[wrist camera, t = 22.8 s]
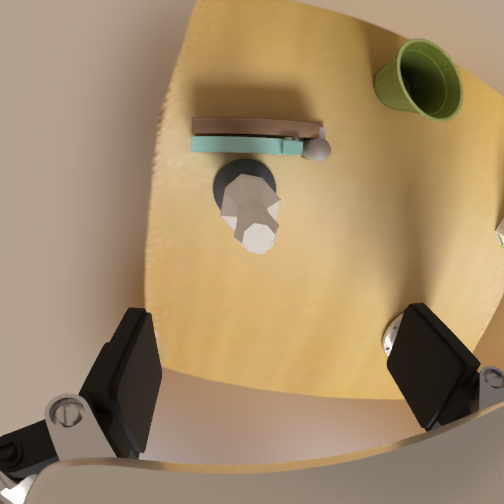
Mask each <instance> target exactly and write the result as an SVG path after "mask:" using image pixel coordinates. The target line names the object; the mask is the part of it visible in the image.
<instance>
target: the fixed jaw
mask: <svg viewBox="0 0 504 504" xmlns="http://www.w3.org/2000/svg"><path fill="white" fill-rule="evenodd" d="M325 131H326V128H323V127H320V123H311V122H301V121H290V120H276V119H257V118H192V134H195V135H252V136H274V137H289V138H294V140H296V141H298V142H303V150H302V155H301V154H295V155H301V156H302V157H303V158H305V159H309V160H314V161H324V160H326V159H327V158H328V157H329V156H330V153H331V147H330V145H329V143H328V142H327V141H326V140H325Z"/></svg>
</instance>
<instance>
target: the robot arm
mask: <svg viewBox="0 0 504 504" xmlns="http://www.w3.org/2000/svg"><path fill="white" fill-rule="evenodd" d="M382 347H383V350H384V351H385V353H386V354H387V355H388V356H389V357H388V360H387V368H388V370H389V372H390V374H391V375H392V377H393V379H394V380H395V382H396V384H397V385H398V387H399V389H400V391H401V392H402V394H403V396H404V398H405V399H406V401H407V403H408V405H409V406H410V408H411V410H412V412H413V413H414V415H415V417H416V419H417V420H418V422H419V424H420V426H421V427H422V428H425V431H424V432H423V433H422V434H419V435H416V436H413V437H410V438H407V439H404V440H400V441H397V442H393V443H390V444H386V445H382V446H378V447H374V448H371V449H367V450H362V451H358V452H353V453H348V454H343V455H337V456H332V457H326V458H319V459H312V460H305V461H296V462H287V463H274V464H259V465H200V464H181V463H169V462H159V461H148V460H138V458H139V454H140V452H141V453H144V452H145V449H146V445H147V440H148V435H149V431H150V426H151V422H152V417H153V413H154V409H155V404H156V400H157V396H158V392H159V388H160V384H161V379H162V369H161V364H160V359H159V354H158V349H157V343H156V338H155V333H154V327H153V321H152V315H151V313H147V312H146V309H145V308H128V310H127V311H126V313H125V315H124V317H123V318H122V320H121V322H120V324H119V326H118V327H117V329H116V331H115V333H114V335H113V337H112V339H111V340H110V342H107V343H105V344H104V346H103V347H102V349H101V351H100V353H99V355H98V357H97V359H96V361H95V363H94V365H93V366H92V368H91V370H90V372H89V374H88V376H87V378H86V380H85V382H84V384H83V386H82V388H81V390H80V392H79V394H78V395H75V394H63V395H59V396H57V397H55V398H54V399H52V400H51V401H50V402H49V404H48V405H47V407H46V409H45V419H44V420H42V421H39V422H37V423H35V424H32V425H29V426H27V427H24V428H22V429H19V430H16V431H14V432H12V433H8V434H6V435H3V436H1V437H0V504H504V372H503V371H502V370H500V369H499V368H496V367H492V366H486V367H484V368H483V369H482V370H481V371H480V373H478V372H477V369H478V368H479V366H480V364H481V363H480V362H479V361H478V359H477V358H476V357H475V356H474V355H473V354H472V353H471V352H470V351H469V349H468V348H467V347H466V346H465V345H464V344H463V343H462V342H461V341H460V340H459V339H458V338H457V337H456V335H455V334H454V333H453V332H452V331H451V330H450V329H449V328H448V327H447V326H446V325H445V324H444V323H443V322H442V321H441V320H440V319H439V318H438V317H437V316H436V315H435V314H434V313H433V312H432V311H431V310H430V309H429V308H428V307H427V306H426V305H425V304H424V303H414V304H410V305H409V306H408V307H407V308H406V309H405V310H404V313H402V314H400V315H399V316H398V317H397V318H396V319H395V320H394V321H393V322H392V323H391V324H390V325H389V326H388V328H387V330H386V331H385V334H384V336H383V340H382Z"/></svg>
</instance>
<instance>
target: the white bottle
mask: <svg viewBox="0 0 504 504" xmlns="http://www.w3.org/2000/svg"><path fill="white" fill-rule="evenodd" d="M280 200H281V199H280V198H279V197H278V196H277V195H276V193H275V192H274V191H273V190H272V189H271V188H270V186H269V185H268V184H267V183H266V182H265V181H264V179H263V178H261V177H256V176H250V175H245V174H240V175H239V176H238V177H237V178H236V179H235V180H234V181H232V182H231V183H230V184H229V185H228V186H227V187H226V188H225V192H224V197H223V203H222V209H221V214H220V216H221V217H222V218H223V219H224V220H225V221H226V223H227V224H228V225H229V226H230V227H231V228H232V229H233V230H234V231H235V234H234V238H235V239H236V240H237V241H238V242H239V243H240V244H241V245H242V246H243V247H244V248H245V249H246V250H248V251H249V252H252V253H258V254H264V253H265V252H266V251H267V250H269V249H270V248H271V247H272V246H273V244H274V242H275V240H276V236H277V231H278V227H279V224H278V223H277V222H276V218H277V214H278V209H279V205H280Z"/></svg>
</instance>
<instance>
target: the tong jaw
mask: <svg viewBox="0 0 504 504" xmlns="http://www.w3.org/2000/svg"><path fill="white" fill-rule="evenodd" d="M302 150H303V142H298V141H296V140H289V139H275V138H257V137H223V136H197V137H192V140H191V152H236V153H264V154H281V155H295V154H301V155H302Z"/></svg>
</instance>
